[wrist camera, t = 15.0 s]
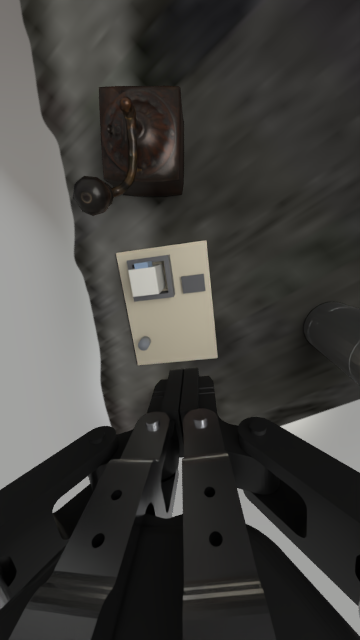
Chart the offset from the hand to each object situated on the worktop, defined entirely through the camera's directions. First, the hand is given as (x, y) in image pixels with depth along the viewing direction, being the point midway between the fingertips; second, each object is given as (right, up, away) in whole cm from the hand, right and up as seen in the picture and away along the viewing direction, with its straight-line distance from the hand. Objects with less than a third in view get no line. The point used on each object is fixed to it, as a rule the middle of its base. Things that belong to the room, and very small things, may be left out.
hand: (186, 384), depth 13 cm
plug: (-5, +11, +30) cm, 33 cm away
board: (-2, +6, +33) cm, 34 cm away
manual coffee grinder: (-5, +27, +27) cm, 39 cm away
